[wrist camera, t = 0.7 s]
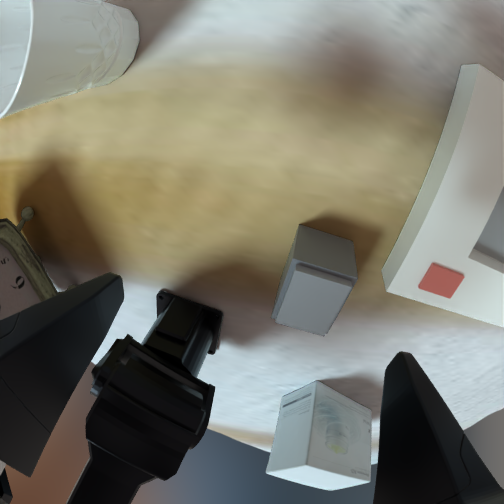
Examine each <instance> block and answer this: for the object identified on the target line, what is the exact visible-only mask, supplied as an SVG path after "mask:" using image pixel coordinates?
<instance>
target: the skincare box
mask: <svg viewBox="0 0 504 504" xmlns="http://www.w3.org/2000/svg"><path fill="white" fill-rule="evenodd" d="M371 434H372V419H371V410H370V409H368V408H366V407H364V406H362V405H360V404H359V403H357V402H355V401H353V400H351V399H349V398H348V397H346V396H344V395H342V394H340V393H339V392H337V391H335V390H333V389H332V388H330V387H328V386H326V385H325V384H323V383H321V382H319V381H315V382H313V383H310V384H309V385H307V386H305V387H303V388H301V389H298V390H296V391H294V392H292V393H290V394H288V395H285V396H283V397H282V399H281V406H280V411H279V416H278V421H277V426H276V431H275V436H274V440H273V445H272V449H271V454H270V458H269V462H268V466H267V469H266V473H267V474H270V475H273V476H276V477H280V478H283V479H286V480H289V481H293V482H296V483H300V484H304V485H308V486H312V487H316V488H321V489H325V490H329V491H331V490H336V489H341V488H346V487H351V486H355V485H360V484H364V483H368V482H370V475H371Z"/></svg>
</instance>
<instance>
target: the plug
mask: <svg viewBox="0 0 504 504" xmlns="http://www.w3.org/2000/svg"><path fill="white" fill-rule="evenodd" d="M357 279H358V275H357V267H356V259H355V252H354V245H353V241H350V240H347V239H344V238H341V237H338V236H335V235H332V234H329V233H326V232H322V231H319V230H316V229H313V228H310V227H307V226H303V225H300V224H299V226H298V229H297V232H296V235H295V238H294V241H293V244H292V247H291V250H290V253H289V256H288V259H287V262H286V265H285V268H284V270H283V273H282V276H281V279H280V283H279V287H278V291H277V296H276V300H275V304H274V308H273V312H272V316H271V318H273V319H276V320H275V323H278V324H282V325H285V326H289V327H292V328H296V329H299V330H303V331H306V332H310V333H313V334H317V335H321V336H325V334H327V333H328V331H329V330H330V328H331V326H332V324H333V323H334V321H335V319H336V318H337V316H338V314H339V312H340V310H341V309H342V307H343V305H344V303H345V302H346V300H347V298H348V296H349V294H350V292H351V291H352V289H353V287H354V285H355V283H356V281H357Z"/></svg>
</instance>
